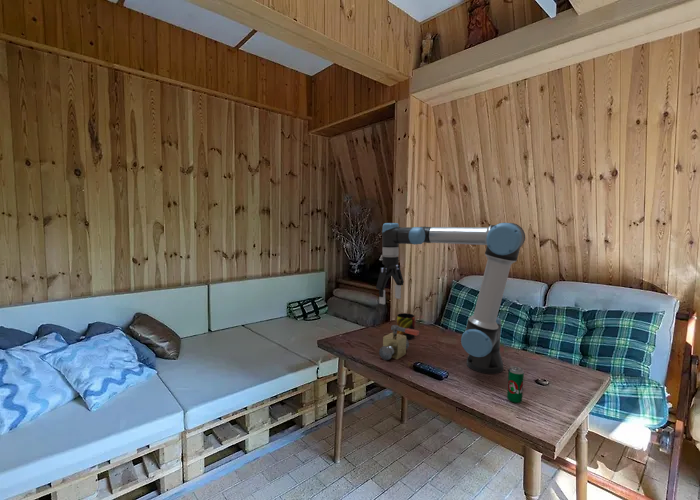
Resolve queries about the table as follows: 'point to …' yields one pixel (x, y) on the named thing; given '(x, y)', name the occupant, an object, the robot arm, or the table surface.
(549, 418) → the table surface
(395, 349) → the valve
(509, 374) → the soda can
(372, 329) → the table surface
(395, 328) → the lever
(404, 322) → the mug
